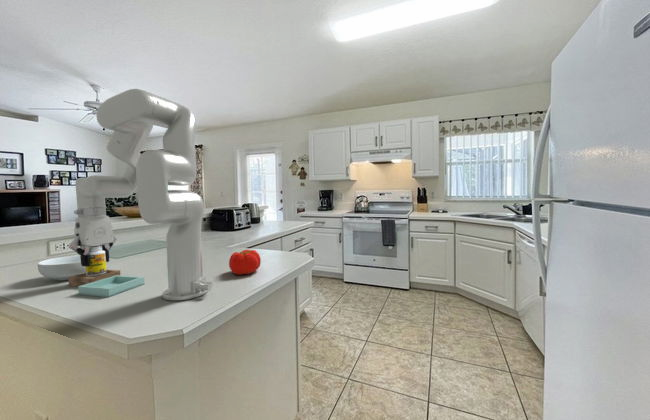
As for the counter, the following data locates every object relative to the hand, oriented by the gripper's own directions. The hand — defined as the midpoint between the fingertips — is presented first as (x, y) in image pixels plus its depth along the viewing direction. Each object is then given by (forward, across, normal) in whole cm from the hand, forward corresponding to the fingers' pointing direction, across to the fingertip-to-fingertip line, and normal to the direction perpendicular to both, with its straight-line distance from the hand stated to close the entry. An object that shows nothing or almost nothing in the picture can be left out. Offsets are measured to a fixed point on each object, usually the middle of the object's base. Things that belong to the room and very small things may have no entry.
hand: (95, 263), depth 95 cm
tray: (+7, -5, -13) cm, 16 cm away
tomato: (+8, +20, -46) cm, 51 cm away
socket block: (+7, 0, +1) cm, 7 cm away
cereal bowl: (+7, +3, +17) cm, 18 cm away
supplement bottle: (+4, 0, 0) cm, 4 cm away
